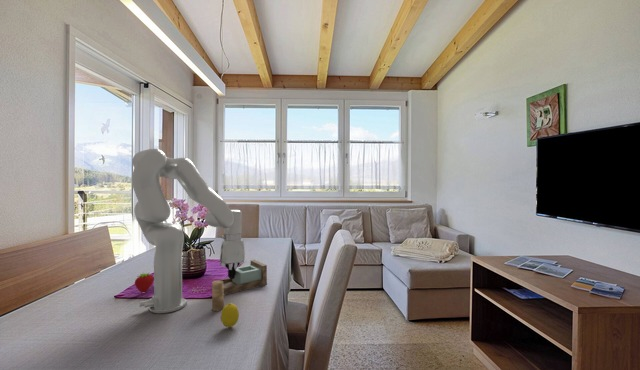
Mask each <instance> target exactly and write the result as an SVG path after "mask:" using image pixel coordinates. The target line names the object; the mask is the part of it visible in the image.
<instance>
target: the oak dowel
mask: <svg viewBox="0 0 640 370" xmlns="http://www.w3.org/2000/svg"><path fill="white" fill-rule="evenodd" d="M224 296H225V295H224V288H223V281H216V280H213V281H212V282H211V300H212V301H211V304H212V305H211V307H212V309H211V310H212V312H220V311H221V312H222V309H223V308H224V306H225V305H224V301H225V300H224Z"/></svg>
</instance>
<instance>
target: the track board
mask: <svg viewBox="0 0 640 370" xmlns="http://www.w3.org/2000/svg"><path fill="white" fill-rule="evenodd" d="M250 265H254V266H256V267H258V268H260V269H261V280H256V281H252V282H248V283H243V284H239V285H237V284H236V283H234V282H233V281H232V279H230V278H229V277H226V278H223V279H222V278H221V279H217V280H215V281H223V288H224V296H225V295H228V294H234V293H238V292H241V291H245V290H250V289H254V288H258V287H259V288H260V287H264V286H265V285H267V284H268V276H267V275H268V270H267V267H268V265H267V264H265V263H263V262H261V261H258V260H256V259H251V260H250Z"/></svg>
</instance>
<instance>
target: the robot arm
mask: <svg viewBox="0 0 640 370" xmlns="http://www.w3.org/2000/svg"><path fill="white" fill-rule="evenodd" d="M131 162H132V166H133V171H132V176H131V185H132V189H133V191H134V195H135V197H136V199H137V202H136V203H135V205H134V212H133V213H134V217H135V219H136V222H137V223H138V225H139V227H140V230H141V231H142V234H143V237H144V238H145V240H146V241H147V242H148V243H149V244H150V245H152V246H155V251H154V257H153V277H154V281H153V295H151V298H148V300H141V301H139V307H140V308H141V307H144V308H148V307H149V309H148V310H149V312H151V313H153V314H167V313H171V312H172V313H173V312H175V311H178V310H181V309H183V308H185V306H186V305H187V302H188V301H187V299H186V298H184V297H183V248H184V241H185V235H184V231H183V230H182V228H181V227H180V226H178V225H177V224H174V223H171V222H170V223H169V222H168V221H167V220H168V219H169V218H170V215H171V207H170V205H169V203H168V200H167V198H166V195H165V193H164V191H163V189H162V186H161V182H160V177H161V178H165V179H168V180H169V179H171V180H177V181H178V183H179V184H180V186H181V187H182V188H183V190H184V191H185V193H186V194H187V195H188V197H189V199H192V201H194V202H196V203H197V204H199V205H201V206H202V207H204V208H205V209H207V210H208V211H207V213H206V214H205V217H204V220H205V222H206V224H207V225H208V226H210V227H213V228H219V229H223V235H221V236H220V239H223V240H222V241H221V246H220V253H219V255H220V256H219V260H220V261H219V262H220V264H219V266H221V267H225V268H226V269H227V276H228V277H227V278H230V279H234V278H235V275H236V269H237V267H240V265H242V264H244V263H245V262H244V261H245V259H246V258H245V257H246V256H245V255H246V253H245V244H244V239H242V229H243V227H242V220H243V212H242V210H239V209H231V208H230V207H229V205H228V204H227V203H226V201H225V200H224V199H223V198H222V197H221V196H220V195H219V194H218V193H217V192H216V191H215V190H213V189H212V188H211V187H210V186H209V184H208V183H207V182H206V180H205V179H204V177H203V175H202V174H201V173H200V171H199V169H198V168H197V167H196V165H195V164H194V162H193V161H192V160H191V159H189V158H187V157H177V158H172V157H167V155H166V153H165V152H164V151H163V150H161V149H159V148H148V149H145V150H140V151H138V152H137V153H135V154H134V155H133V157H132V160H131Z"/></svg>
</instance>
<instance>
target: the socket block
mask: <svg viewBox="0 0 640 370" xmlns="http://www.w3.org/2000/svg"><path fill="white" fill-rule="evenodd" d="M256 280H261V269H260V268H258V267H256V266H254V265H251V264H248V265H242V266H238V267H237V269H236V275H235V278H234V279H232V281H233V282H234V283H236V284H237V285H239V284H243V283H248V282H252V281H256Z"/></svg>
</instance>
